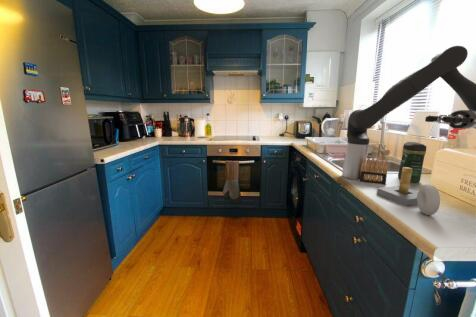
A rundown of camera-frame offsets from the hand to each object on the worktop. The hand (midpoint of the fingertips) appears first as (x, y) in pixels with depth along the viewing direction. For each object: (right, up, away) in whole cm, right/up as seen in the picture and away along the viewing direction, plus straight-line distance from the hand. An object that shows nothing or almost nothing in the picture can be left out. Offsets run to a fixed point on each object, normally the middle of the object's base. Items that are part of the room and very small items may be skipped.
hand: (438, 119), depth 87 cm
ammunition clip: (-15, -27, +18) cm, 36 cm away
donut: (-16, -34, -13) cm, 39 cm away
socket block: (-14, -30, 0) cm, 34 cm away
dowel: (-14, -30, 0) cm, 34 cm away
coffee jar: (+6, -26, +23) cm, 35 cm away
